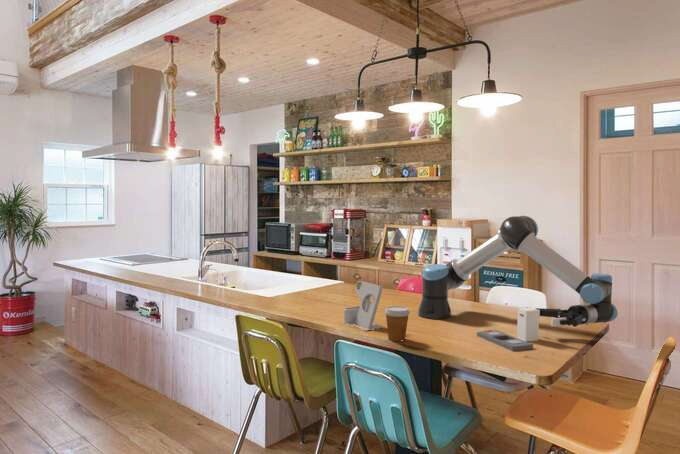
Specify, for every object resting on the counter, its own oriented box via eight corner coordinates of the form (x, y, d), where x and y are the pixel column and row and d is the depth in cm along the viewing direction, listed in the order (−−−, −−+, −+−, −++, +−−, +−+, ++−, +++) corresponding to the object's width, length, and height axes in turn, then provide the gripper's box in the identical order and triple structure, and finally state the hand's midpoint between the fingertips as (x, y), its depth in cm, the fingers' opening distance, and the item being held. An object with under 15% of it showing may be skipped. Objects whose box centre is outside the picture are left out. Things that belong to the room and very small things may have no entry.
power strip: (476, 339, 187) (477, 330, 187) (496, 337, 190) (496, 328, 190) (512, 355, 168) (512, 344, 168) (532, 352, 172) (533, 342, 171)
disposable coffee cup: (406, 335, 191) (407, 305, 191) (411, 342, 182) (411, 311, 181) (382, 335, 191) (383, 305, 190) (385, 342, 181) (386, 311, 181)
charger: (516, 342, 184) (517, 308, 184) (529, 340, 186) (530, 307, 186) (524, 345, 180) (526, 311, 179) (538, 344, 182) (539, 310, 181)
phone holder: (341, 322, 211) (341, 281, 210) (359, 319, 217) (360, 279, 216) (365, 331, 197) (365, 287, 196) (384, 328, 203) (385, 285, 202)
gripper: (608, 332, 179) (563, 336, 172) (557, 316, 203) (515, 320, 196) (609, 311, 179) (564, 315, 172) (557, 299, 202) (516, 302, 195)
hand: (538, 318), depth 184 cm, fingers open, 13 cm apart
